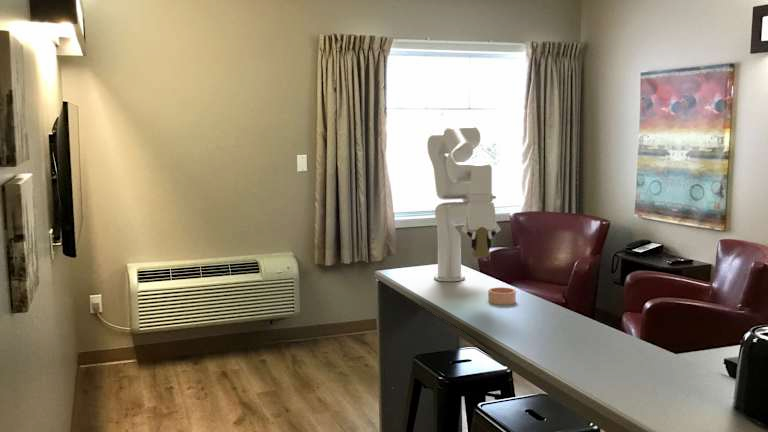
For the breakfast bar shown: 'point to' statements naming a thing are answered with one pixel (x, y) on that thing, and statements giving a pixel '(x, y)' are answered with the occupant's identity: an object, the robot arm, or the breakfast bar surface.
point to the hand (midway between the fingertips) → (481, 249)
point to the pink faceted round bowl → (502, 296)
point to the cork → (481, 243)
